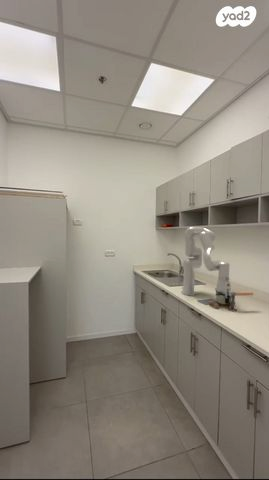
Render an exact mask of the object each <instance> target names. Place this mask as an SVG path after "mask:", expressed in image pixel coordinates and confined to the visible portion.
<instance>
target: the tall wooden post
mask: <svg viewBox="0 0 269 480" xmlns="http://www.w3.org/2000/svg"><path fill="white" fill-rule="evenodd" d="M253 295H254V293H253V291H231V296H235V297H238V296H243V297H244V296H253Z"/></svg>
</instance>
